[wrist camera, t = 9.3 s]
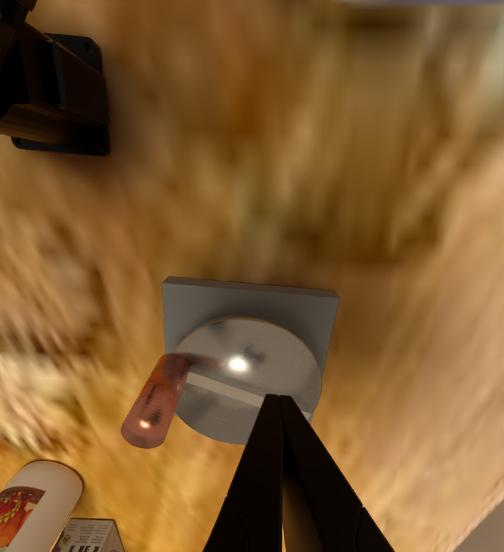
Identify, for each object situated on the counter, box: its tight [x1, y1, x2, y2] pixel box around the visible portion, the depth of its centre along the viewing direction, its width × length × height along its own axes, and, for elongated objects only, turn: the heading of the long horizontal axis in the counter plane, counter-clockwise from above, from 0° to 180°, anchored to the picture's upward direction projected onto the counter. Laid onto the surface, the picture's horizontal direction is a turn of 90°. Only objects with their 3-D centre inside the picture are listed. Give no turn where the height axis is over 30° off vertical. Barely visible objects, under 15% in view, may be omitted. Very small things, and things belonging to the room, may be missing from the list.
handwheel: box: [121, 314, 322, 449], centre depth 18 cm, size 13×12×8 cm
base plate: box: [162, 276, 340, 425], centre depth 22 cm, size 14×14×2 cm
